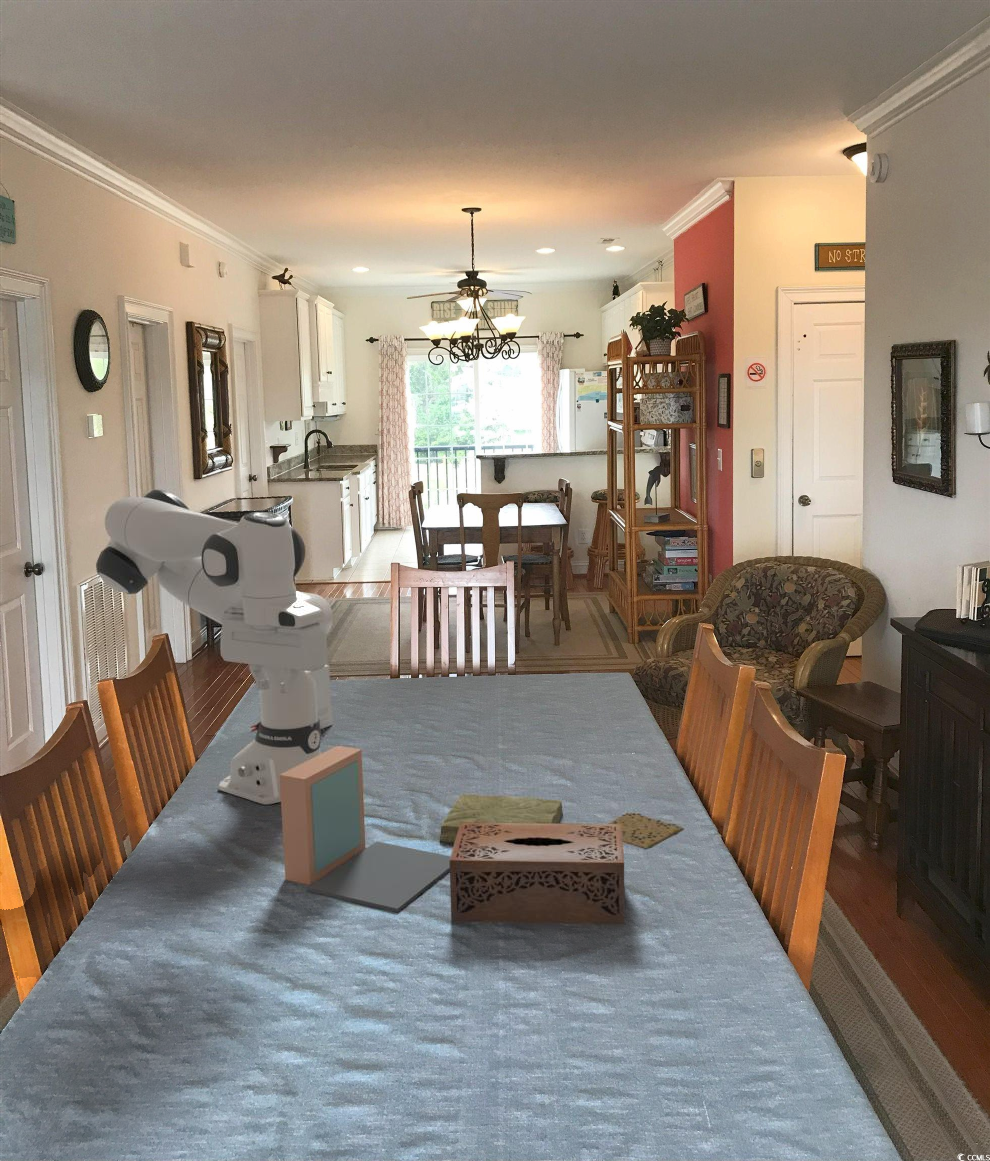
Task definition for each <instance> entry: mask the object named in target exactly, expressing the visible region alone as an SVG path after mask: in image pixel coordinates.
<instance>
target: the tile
mask: <svg viewBox="0 0 990 1161" xmlns="http://www.w3.org/2000/svg"><path fill="white" fill-rule="evenodd" d="M362 754H363V753H362V749H361V748H354V747H347V746H342V745H336V746H334V747H332V748H330V749H328V750H326V751H324V752H321V754H320V755H318V756H316V757H314V758H312V759H310V760H308V761H306V762H304V763H302V764H300V765H298V766H296V767H294V768H292V769H290V770H288V771H286V772H284V773H282V774H280V793H281V802H280V806H281V824H282V826H281V828H282V842H283V843H282V844H283V860H284V861H283V864H284V880H286V881H289V882H295V883H299V884H303V885H307V886H311V885H312V884H314V883H315V882H317V881H318V880H320V879H321V878H323V877H324V876H326V875H327V874H329V873H330V872H332V871H333V870H335V869H336V868H337V867H339V866H340V865H342V864H343V863H345V862H346V861H348V860H349V859H351V858H352V857H354V856H355V855H357V854H358V853H360V852H361V851H363V850H364V849H366V829H365V828H366V827H365V825H366V824H365V805H364V804H365V803H364V800H365V799H364V780H363V779H364V776H363V757H362Z"/></svg>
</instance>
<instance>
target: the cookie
mask: <svg viewBox="0 0 990 1161" xmlns="http://www.w3.org/2000/svg"><path fill="white" fill-rule="evenodd" d="M607 824H621V830H622V842H623V843H625V844H628V845H632V846H635V847H637V848H641V849H643V850H648V849H650V848H653V847H654V846H656V845H658V844H659V843H662V842H664V840H666V839H668V838H670V837H672V836H675V835H676V834H678V833H680V832H682V831H683V830H685V829H684V827H682V826H679V825H677V824H674V823H670V822H665V821H662V820H660V819H655V818H653V817H652V818H651V817H648V816H646V815H643V814H642V813H635V812H628V813H625V814H622V815H621V816H619V817H617V818H616V819H614V820H612V821H611V822H609V823H607Z"/></svg>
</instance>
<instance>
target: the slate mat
mask: <svg viewBox="0 0 990 1161" xmlns="http://www.w3.org/2000/svg"><path fill="white" fill-rule="evenodd" d="M450 857H451V855H446V854H445V855H444V854H440V853H438V852H437V853H435V852H431V851H426V850H420V849H417V848H413V847H412V848H410V847H408V846H402V845H397V844H390V843H386V842H381V841H378V840H377V841H375V842H373V843H372V844H370V845H369V846H368V847H365V849H363V850H362V851H360V852H359V853H358V854H356V855H355V856H353V857H352V858H350V859H349V860H347V861H346V862H344V863H343V864H341V865H340V866H338V867H337V868H335V869H334V870H332V871H331V872H329V873H328V874H326V875H325V876H323V877H322V878H320V879H319V880H317V881H316V882H314V883H313V884H311V885H308V887H307V892H310V893H313V894H317V895H318V894H319V895H322V896H327V897H331V898H335V899H338V900H343V901H347V902H351V903H355V904H361V905H365V906H368V907H374V908H378V909H381V910H386V911H391V912H395V913H399V912H400V911H402V909H404V908H406V906H408V905H409V904H410V903H411V902H413V901H414V900H415V899H416V898H418V897H419V896H420V895H421V894H422V893H424V892H425V891H426V890H428V889H429V888H430V887H431V886H433V885H434V884H435V883H437V882H438V881H439V880H441V878H443V877H444V876H445V875H446V874H448V873H450Z"/></svg>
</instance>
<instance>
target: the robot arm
mask: <svg viewBox="0 0 990 1161" xmlns="http://www.w3.org/2000/svg"><path fill="white" fill-rule="evenodd" d="M104 527H105V531H106V533H107V535H108V536H109V538H110V540H108V541H109V542H108V543H107V545H106V546H105V548H104V549H103V550H102V551H100V553H99V555H98V557H97V561H96V563H95V564H96V565H95V568H96V573H97V574H98V575H99V578H101V580H102V581H103V582H104V584H106V585H107V586H108V587H109V588H110V589H112V590H114V591H115V592H120V593H124V594H126V595H134V594H138V593H139V592H141V591H142V590H143V589H144V588H145V587H146V586H147V585H149V581H150V580H151V579H152V578H153V577H154V576H155V575H156V578H157V581H158V583H159V584H160V585H161V586H160V587H162V588H164V590H165V591H167V592H168V593H169V594H170V595H171V596H173V597H174V598H175V599H177V600H178V601H180V602H181V603H182V604H184V605H186V606H187V607H189V608H191V609H192V610H194V611H196V612H198V613H200V614H202V615H204V616H206V617H207V618H209V619H210V620H213V621H215V622H216V623H218V624H220V625H221V631H220V647H219V648H220V656H221V657H222V659H223V660H224V661H225V662H232V663H239V664H246V665H247V664H248V670H249V672H250V674H251V675H252V677H253V679H254V681H255V688H256V690H258V695H259V704H260V705H259V707H260V719H261V720H260V721H258V722H257V723H256V724H254V725H252V726H250V727H249V728H251V730H250V733H252V732H256V734H255V737H254V740H252V741H251V742H250V743H249V744H247V745H246V746H245V747H244V748H242V750H240V751H239V752H237V753H236V754H235V755H234V756H233V758H232V760H231V762H230V769H229V775H228V776H226V777H225V778H224V779H222V780H221V781H220V782H219V784H218V791H222V792H225V793H228V794H230V795H233V796H237V797H240V798H243V799H246V800H248V801H251V802H255V803H258V804H261V805H272V804H276V803H281V793H280V774H282V773H284V772H286V771H288V770H290V769H292V768H294V767H296V766H298V765H300V764H302V763H304V762H306V761H308V760H310V759H312V758H314V757H316V756H318V755H320V754H322V752H321V740H322V739H321V738H322V732H321V730H322V729H320V719H319V718H318V717H317V697H316V684H315V681H314V679H313V678H312V677H311V676H310V675H308V674H306V672H305V671H311V672H313V671H316V670H319V669H322V668H324V666H325V665H327V663H328V661H329V660H328V659H329V657H328V652H329V651H328V644H327V643H328V641H327V634H328V633H329V632H330V631H331V629H332V627H333V624H334V613H333V609H332V608H331V605H330V604H329V602H328V600H326V599H325V598H324V597H323V596H321V595H319V594H317V593H312V592H311V593H310V592H303V591H299V590H297V587H296V584H295V582H294V578H295V577H296V575H297V574H298V573H299V572H300V570H301V569H302V566H303V564H304V562H305V559H306V544H305V542H304V540H303V538H302V536H301V535H300V534H299V533H298V531H297V530H296V529H295V528H294V527H293V526H291V524H290V522H289V521H288V519H287V518H286V517H284V516H282V515H281V514H278V513H274V512H265V511H255V512H249V513H246V514H245V515H242V517H241V518H240V520H239V521H236V520H231V519H227V518H221V517H217V516H213V515H210V514H206V513H204V512H203V513H202V512H199V511H195V510H191V509H190V508H188V506H187V505H186V503H185V502H184V501H183V500H182V499H181V498H179V497H178V496H177V495H175V494H173V493H171V492H169V491H165V490H163V489H152V490H150V491H149V492H148V493H146V495H144V496H143V497H141V496H130V497H129V496H127V497H121V498H119V499H118V500H116V501H114V503H112V504H111V505H110V506H109V508H108V509H107V511H106V514H105V517H104Z"/></svg>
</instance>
